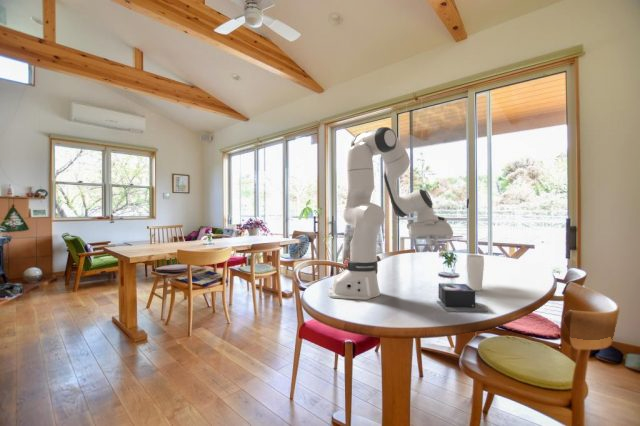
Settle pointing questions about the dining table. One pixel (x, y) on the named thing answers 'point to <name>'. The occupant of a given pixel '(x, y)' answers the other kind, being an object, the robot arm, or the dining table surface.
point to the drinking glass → (475, 271)
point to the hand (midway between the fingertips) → (433, 244)
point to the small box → (456, 295)
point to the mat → (463, 308)
